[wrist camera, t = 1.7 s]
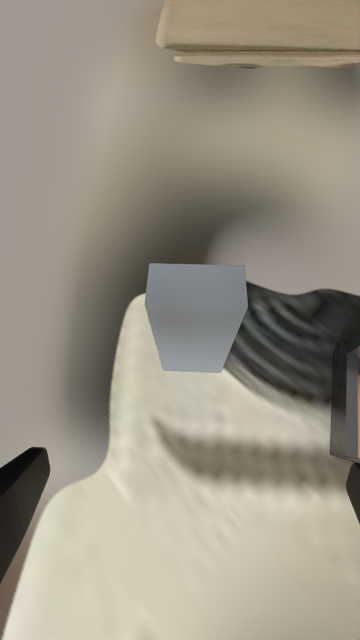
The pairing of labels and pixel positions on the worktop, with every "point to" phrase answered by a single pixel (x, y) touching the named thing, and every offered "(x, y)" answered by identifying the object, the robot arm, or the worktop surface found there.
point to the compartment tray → (346, 402)
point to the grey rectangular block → (195, 313)
